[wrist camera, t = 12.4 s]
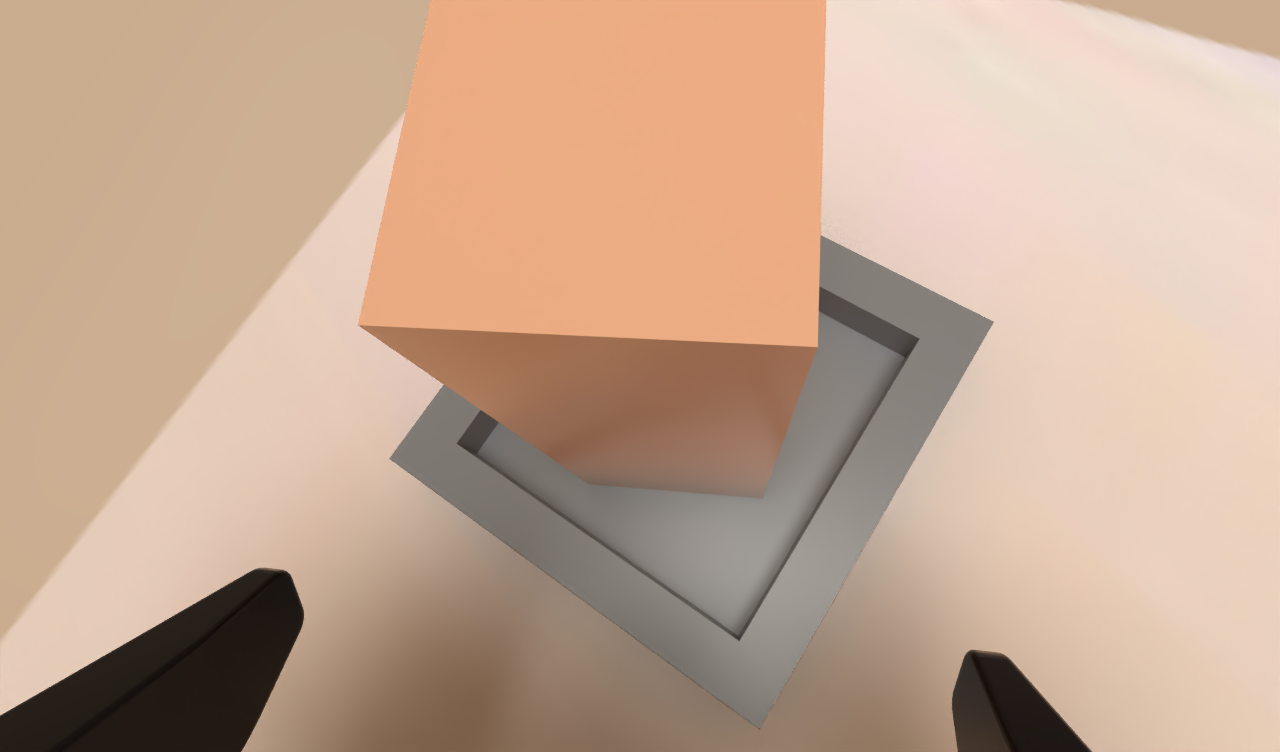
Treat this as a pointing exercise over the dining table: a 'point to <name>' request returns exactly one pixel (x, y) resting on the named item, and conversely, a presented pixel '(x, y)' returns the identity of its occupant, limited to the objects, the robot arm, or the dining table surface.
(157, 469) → the dining table surface
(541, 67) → the peach square prism
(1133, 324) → the dining table surface
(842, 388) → the tray
